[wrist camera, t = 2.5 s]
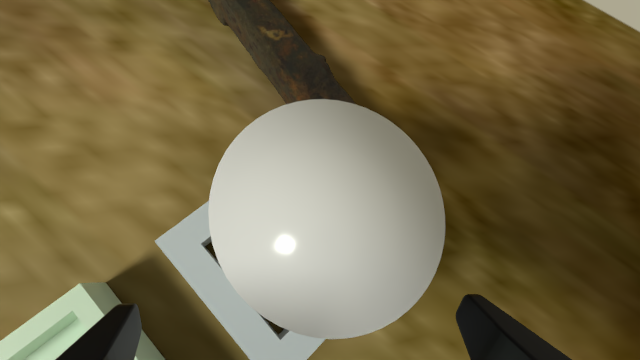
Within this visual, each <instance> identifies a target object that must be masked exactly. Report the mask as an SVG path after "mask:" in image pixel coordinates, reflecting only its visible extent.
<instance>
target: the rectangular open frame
mask: <svg viewBox="0 0 640 360" xmlns="http://www.w3.org/2000/svg"><path fill="white" fill-rule="evenodd" d="M208 209H209V201H208V202H207V203H205V204H204V205H203V206H201V207H200V208H198V209H197V210H196V211H194V212H193V213H192V214H190V215H189V216H188V217H186V218H185V219H184V220H182V221H181V222H180V223H178V224H177V225H176V226H174V227H173V228H171V229H170V230H169V231H167V232H166V233H165V234H163V235H162V236H161V237H159V238H158V239H157V240H155V242H156V244H157V245H158V246H159V247H160V249H161V250H162V251H163V252H164V254H165V255H166V256H167V257H168V258H169V260H170V261H171V262H172V263H173V265H174V266H175V267H176V268H177V270H178V271H179V272H180V273H181V275H182V276H183V277H184V278H185V280H186V281H187V282H188V283H189V284H190V286H191V287H192V288H193V289H194V291H195V292H196V293H197V294H198V296H199V297H200V298H201V299H202V301H203V302H204V303H205V304H206V306H207V307H208V308H209V309H210V311H211V312H212V313H213V314H214V315H215V317H216V318H217V319H218V320H219V322H220V323H221V324H222V325H223V327H224V328H225V329H226V330H227V332H228V333H229V334H230V335H231V337H232V338H233V339H234V340H235V342H236V343H237V344H238V345H239V346H240V348H241V349H242V350H243V351H244V353H245V354H246V355H247V356H248V358H249V359H250V360H307V359H308V358H309V357H310V355H311V354H312V353H313V352H314V351H315V350H316V349H317V348H318V347H319V346H320V345H321V343H322V342H323V341H324V340H325V339H324V338H314V337H309V336H305V335H301V334H297V333H294V332H292V331H289V330H287V329H284V330H283V331H282V332H281V333H280V334H279V335H278V334H277V333H276V332H275V330H274V329H273V328H272V327H271V326H270V324H269V323H268V322H267V321H266V320H265V318H264V317H263V316H262V315H260V314H259V313H258V312H256V311H255V310H254V309H253V308H251V307H250V306H249V305H248V304H247V303H246V302H245V301H244V300H243V298H242V297H241V296H240V295H239V294H238V293H237V292H236V290H235V289H234V288H233V286H232V285H231V283H230V282H229V281H228V279H227V278H226V276H225V274H224V272H223V270H222V268H221V266H220V264H219V263H218V261H217V260H216V259H215V258H214V257H213V255H212V254H211V253H210V252H209V250H208V249H207V248H206V247H205V246H206V245H208V244H209V243H210V242H211V241H212V239H211V234H210V229H209V214H208Z"/></svg>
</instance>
